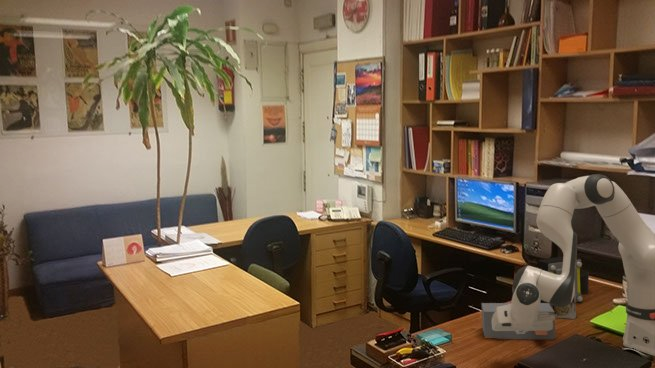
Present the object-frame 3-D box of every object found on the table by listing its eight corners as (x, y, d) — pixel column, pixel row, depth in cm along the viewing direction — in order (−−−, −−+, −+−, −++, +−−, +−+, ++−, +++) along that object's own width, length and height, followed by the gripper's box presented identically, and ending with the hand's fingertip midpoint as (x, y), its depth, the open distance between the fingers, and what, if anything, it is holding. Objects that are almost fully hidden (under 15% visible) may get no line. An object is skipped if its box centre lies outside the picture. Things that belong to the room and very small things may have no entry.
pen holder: (573, 288, 270) (573, 268, 269) (592, 291, 263) (592, 271, 262) (563, 292, 264) (563, 272, 264) (583, 296, 257) (582, 275, 256)
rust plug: (547, 334, 203) (547, 324, 203) (536, 334, 204) (535, 324, 203) (541, 324, 213) (541, 314, 213) (531, 324, 214) (530, 314, 214)
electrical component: (551, 308, 244) (550, 264, 242) (537, 301, 254) (536, 259, 252) (584, 302, 249) (583, 259, 247) (569, 296, 258) (568, 255, 257)
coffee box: (576, 314, 235) (575, 277, 233) (575, 319, 229) (574, 282, 227) (553, 312, 239) (552, 276, 237) (551, 317, 233) (551, 280, 231)
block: (555, 339, 210) (554, 311, 209) (484, 338, 215) (483, 311, 213) (549, 329, 220) (548, 303, 219) (482, 329, 225) (481, 303, 224)
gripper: (554, 305, 185) (549, 323, 195) (491, 306, 189) (490, 324, 199) (557, 323, 181) (552, 340, 191) (493, 324, 185) (492, 340, 195)
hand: (520, 332), depth 195 cm, fingers closed
